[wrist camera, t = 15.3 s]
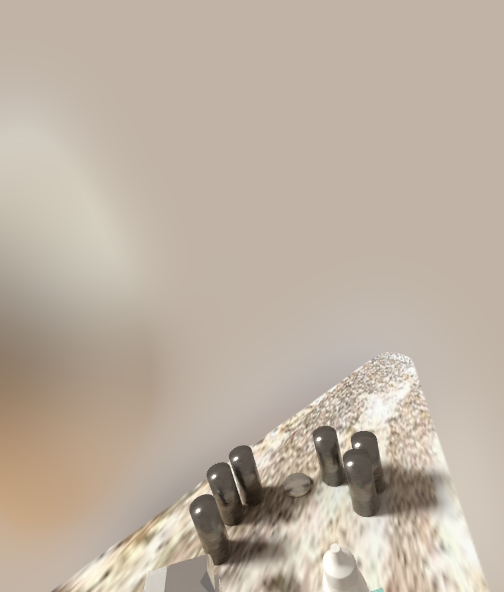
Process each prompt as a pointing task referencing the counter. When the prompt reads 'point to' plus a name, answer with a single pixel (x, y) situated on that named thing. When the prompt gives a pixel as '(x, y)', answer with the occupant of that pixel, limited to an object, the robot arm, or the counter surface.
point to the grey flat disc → (297, 485)
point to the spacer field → (227, 503)
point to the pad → (378, 590)
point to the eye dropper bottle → (341, 572)
